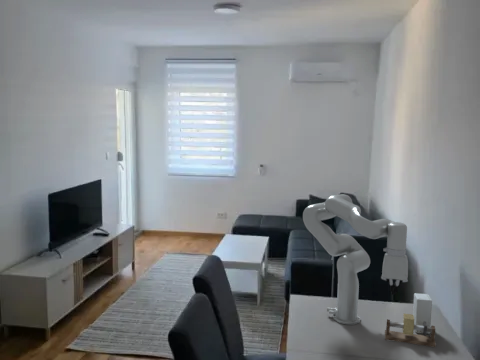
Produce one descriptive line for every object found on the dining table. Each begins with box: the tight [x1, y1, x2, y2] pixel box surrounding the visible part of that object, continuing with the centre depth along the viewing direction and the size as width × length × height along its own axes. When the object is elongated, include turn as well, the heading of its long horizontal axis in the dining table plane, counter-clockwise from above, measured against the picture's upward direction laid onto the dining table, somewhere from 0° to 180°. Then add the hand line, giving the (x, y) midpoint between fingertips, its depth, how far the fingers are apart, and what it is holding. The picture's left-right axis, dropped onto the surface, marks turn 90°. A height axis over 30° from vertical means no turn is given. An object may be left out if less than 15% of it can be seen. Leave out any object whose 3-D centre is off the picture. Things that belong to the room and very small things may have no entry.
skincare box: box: [412, 292, 433, 335], centre depth 200 cm, size 8×7×16 cm
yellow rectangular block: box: [401, 313, 415, 335], centre depth 191 cm, size 4×5×7 cm
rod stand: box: [384, 319, 437, 348], centre depth 191 cm, size 20×6×8 cm, turn 74°
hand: (393, 293), depth 191 cm, fingers closed
